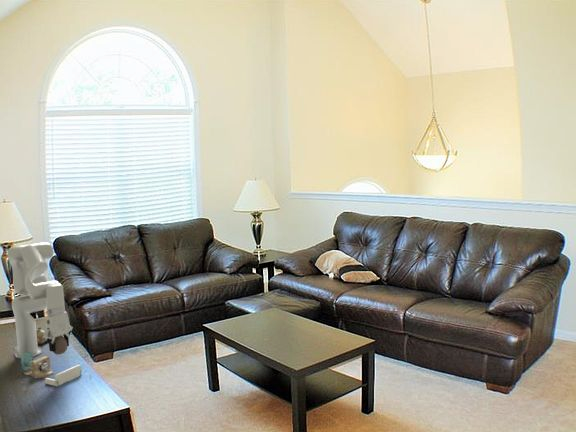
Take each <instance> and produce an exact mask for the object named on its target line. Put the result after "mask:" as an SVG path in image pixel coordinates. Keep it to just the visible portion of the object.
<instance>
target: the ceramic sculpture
mask: <svg viewBox="0 0 576 432" xmlns="http://www.w3.org/2000/svg"><path fill="white" fill-rule="evenodd" d="M45 332H46V329H44V328H42V327H38V328H36V333H37V344H38V345H42V344H44V343H47V341H45V339H43V335H44V334H45ZM48 338H49V337H48ZM51 339H52V338H51Z"/></svg>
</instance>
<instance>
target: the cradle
mask: <svg viewBox="0 0 576 432" xmlns="http://www.w3.org/2000/svg"><path fill="white" fill-rule="evenodd" d="M80 376H82V365H81V364H77V365H75V366H72V367H68V369H66V370H63V371H61V372H59V373H57V374H54V378H49V377H44V379H45V385H51V386H55V387H59V386H60V385H63V384H66V383H67V382H69V381H72V380H74V379H77V378H79V377H80Z"/></svg>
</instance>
